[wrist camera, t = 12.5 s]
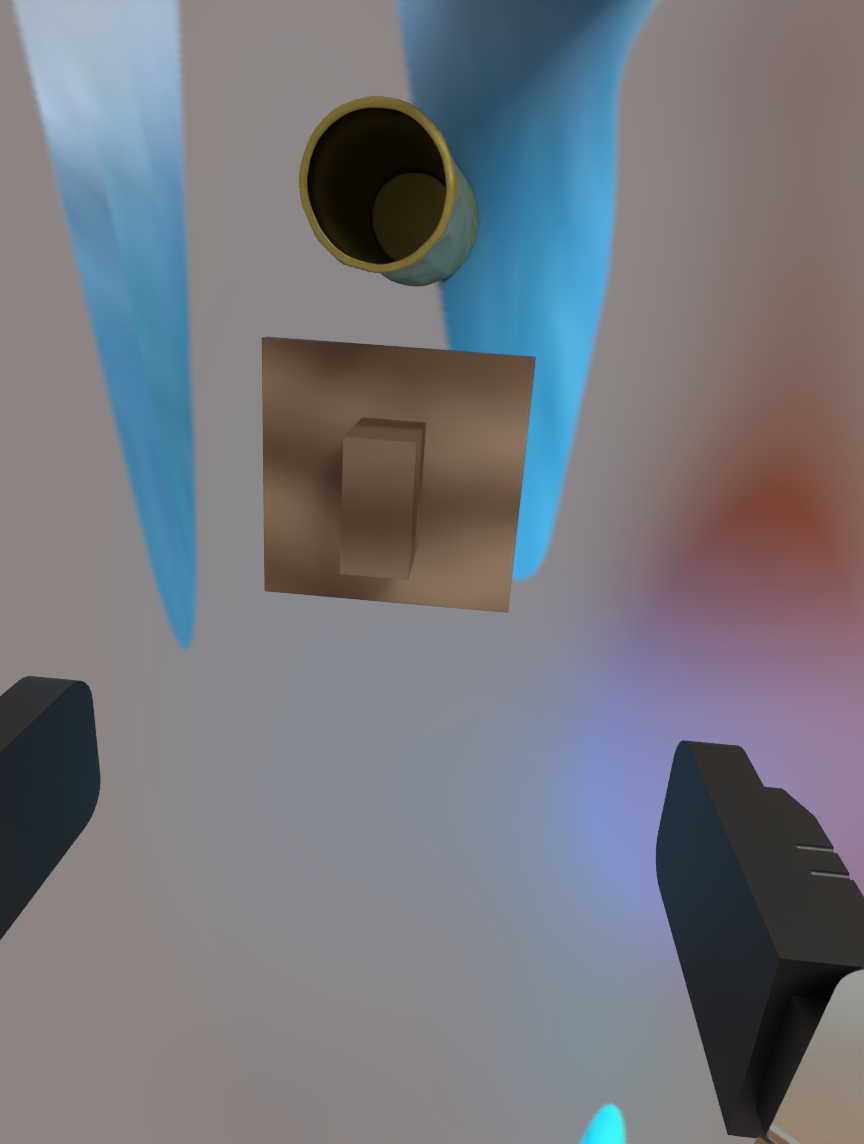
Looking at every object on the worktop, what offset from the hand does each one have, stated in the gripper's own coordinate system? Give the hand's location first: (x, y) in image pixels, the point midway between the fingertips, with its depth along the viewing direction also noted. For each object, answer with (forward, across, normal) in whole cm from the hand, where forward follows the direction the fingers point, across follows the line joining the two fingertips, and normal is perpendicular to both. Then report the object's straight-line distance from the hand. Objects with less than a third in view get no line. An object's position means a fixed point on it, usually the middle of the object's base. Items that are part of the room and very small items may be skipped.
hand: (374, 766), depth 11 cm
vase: (+33, +3, -9) cm, 35 cm away
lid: (+28, +3, +3) cm, 28 cm away
